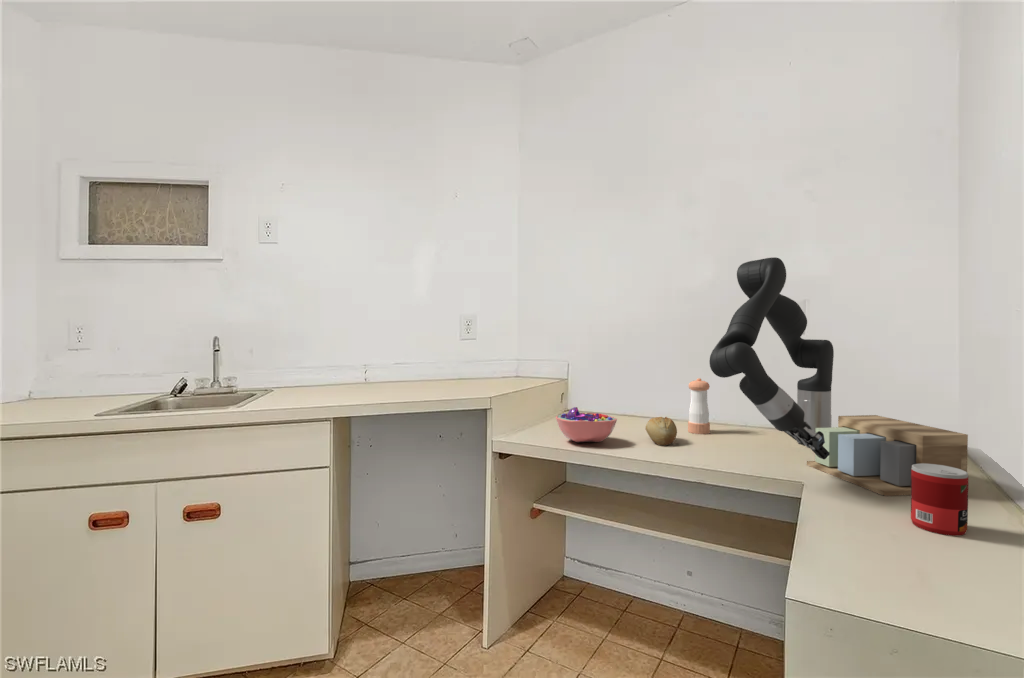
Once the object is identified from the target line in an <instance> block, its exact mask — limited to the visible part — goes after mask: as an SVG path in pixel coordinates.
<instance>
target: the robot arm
mask: <svg viewBox="0 0 1024 678" xmlns="http://www.w3.org/2000/svg"><path fill="white" fill-rule="evenodd" d="M736 279H737V283H738V285H739V288H740V289H741V291H742V292H743V293H744V295H745V296H747V298H748V299H747V301H746V302H744V303H743V304H742V305H740V307H738V309H737V310H736V311H735V312H734V314H733V315H732V317H731V320H730V321H729V325H728V327H727V329H726V332H725V334H723V336H722V337H721V339H720V340H719V341H718V342H717V344H716V345H715V346H714V348H713V349H712V351H711V353H710V355H709V367H710V370H711V371H712V373H713V374H714V375H715V376H716V377H719V378H731V377H732V376H737V375H739V374H742V373H743V374H744V376H743V377H742V379H740V381H739V386H738V387H739V390H740V391H741V392H742V393H743V394H744V396H745V397H746V398H747V399H748V400H749V401H751V403H752V404H753V405H754V406H755V408H756V409H757V410H758V412H760V414H761V415H763V417H764V418H765V419H766V420H767V421H768V422H769V423H770V424H771V425H772V426H773V427H774V428H775V429H776V430H777V431H779V432H784V433H785V434H786V435H788V436H789V437H790V438H792V439H793V440H795V441H796V443H797V442H798V444H800V445H801V446H805V447H806V448H808V449H810V450H811V451H812V452H813V454H814V455H815V454H816V455H817V456H818V457H819V458H821V459H826V458H827V457H828V456H829V452H828V451H827V450H826V449H825V448H824V447H823V446H822V445H823V444H824V443H825V440H824V434H823V433H822V432H820V431H818V432H817V433H816V428H832V383H833V370H834V369H833V368H834V357H835V356H834V354H835V353H834V345H833V343H832V342H831V341H830V340H829V339H811V338H810V339H806V338H802V335H803V334H804V333H805V331H806V329H807V326H808V319H807V316H806V314H805V312H804V311H803V309H802V308H801V306H800V305H799V304H798V303H797V302H796V301H795V300H794V299H792V298H790V297H788V296H785V295H783V294H781V292H782V290H783V289H784V287H785V285H786V281H787V269H786V266H785V263H784V261H783V260H782V259H781V258H779V257H766V258H760V259H757V260H750V261H746V262H743V263H741V264H740V265H739V266H738V267H737V270H736ZM765 319H766V320H767V322H768V323H769V325H770V327H771V328H772V330H773V331H774V332H775V333H776V334H777V336H778V337H779V338H780V340H781V342H782V343H783V345H784V347H785V349H786V350H787V352H788V353H787V354H788V355H789V357H790V359H791V361H792V362H793V363H794V365H795V366H797V367H798V368H802V369H816V372H815V374H813V375H812V376H810V377H807V378H801V379H799V380H798V381H797V385H796V386H797V390H796V391H797V393H796V398H797V399H796V400H797V402H796V401H795V400H794V399H793V398H792V397H791V396H790V395H789V394H788V393H787V392H786V391H785V390H784V389H783V388H781V387H780V386H779V385H778V384H777V383H776V381H774V380H773V379H772V377H770V376H769V374H767V372H766V370H765V368H764V366H763V364H762V363H761V361H760V358H759V356H758V354H757V352H756V350H755V349H754V348H753V346H754V345H755V343H756V341H757V339H758V335H759V333H760V331H761V327H762V325H763V322H764V320H765Z"/></svg>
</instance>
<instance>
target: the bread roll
mask: <svg viewBox="0 0 1024 678" xmlns="http://www.w3.org/2000/svg"><path fill="white" fill-rule="evenodd" d="M645 431H646V433H647V435H648V437H649V438H650V440H652V442H653V443H655V444H657V445H659V446H668V445H671V444H672V443H673V442H674V441H675V439H676V437H677V434H678V429H677V424H676V423H675V422H674V420H673V419H671V418H670V417H667V416H665V417H663V416H658V417H657V416H656V417H652V418H650V419H649V420H648V421H647V422H646V425H645Z"/></svg>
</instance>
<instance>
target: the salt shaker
mask: <svg viewBox="0 0 1024 678" xmlns="http://www.w3.org/2000/svg"><path fill="white" fill-rule="evenodd" d="M688 389H689V390H690V405H689V410H688V421H687V432H688V433H690V434H695V435H696V434H697V435H708V434H710V432H711V431H710V430H711V426H710V425H711V423H710V421H709V420H710V411H709V405H708V390H709V389H710V384H709V382H708V381H705V380H702V378H701V377H697V378H696V380H692V381H690V382H689V383H688Z"/></svg>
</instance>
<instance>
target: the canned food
mask: <svg viewBox="0 0 1024 678" xmlns="http://www.w3.org/2000/svg"><path fill="white" fill-rule="evenodd" d="M968 509H969V473H968V471H967V472H966V471H964V470H961V469H958V468H954V467H949V466H944V465H937V464H924V463H921V464H913V465H912V468H911V495H910V520H911V522H912V524H913V525H914V526H915V527H916V528H918V529H921V530H924V531H926V532H930V533H934V534H938V535H944V536H952V537H960V536H964V535H965V534H966V533H967V531H968V520H969V519H968V518H969V516H968V515H969V510H968Z"/></svg>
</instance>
